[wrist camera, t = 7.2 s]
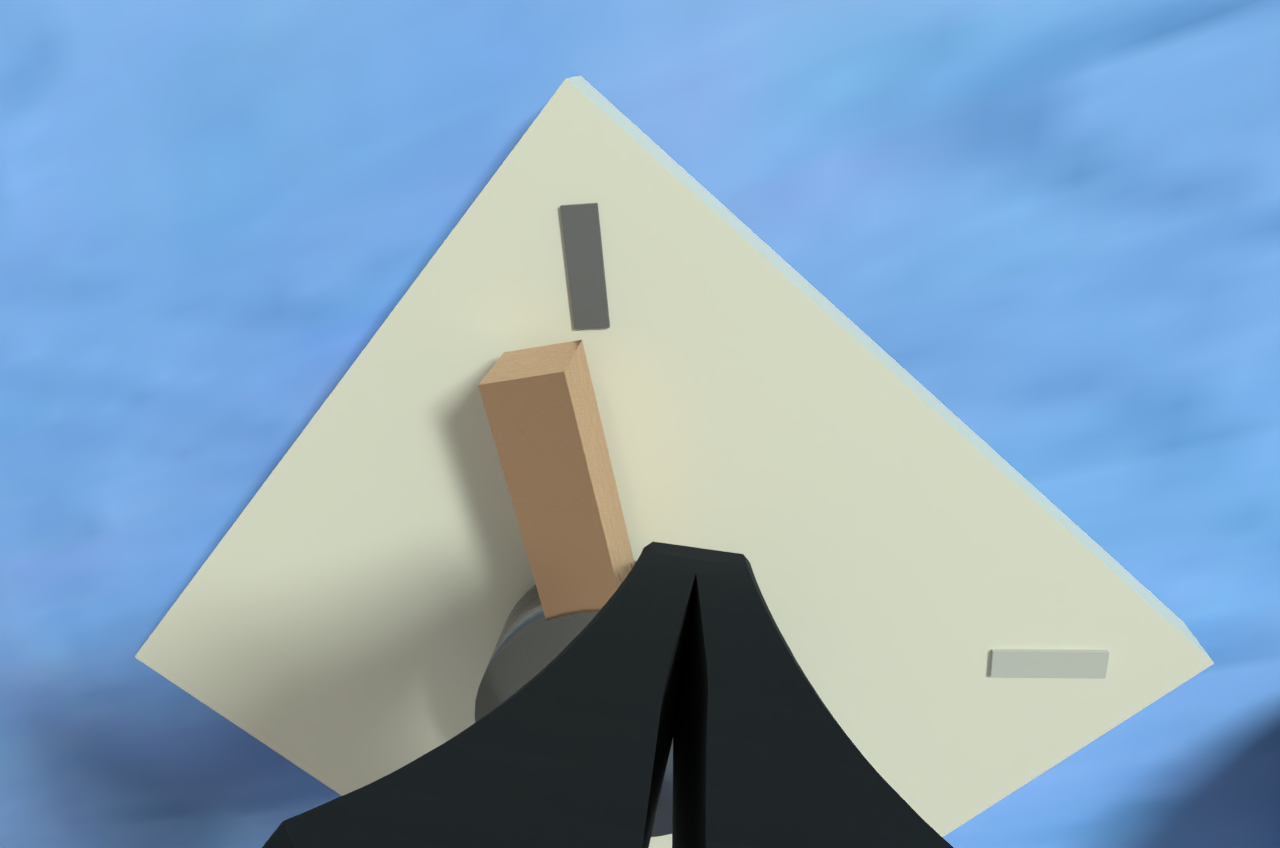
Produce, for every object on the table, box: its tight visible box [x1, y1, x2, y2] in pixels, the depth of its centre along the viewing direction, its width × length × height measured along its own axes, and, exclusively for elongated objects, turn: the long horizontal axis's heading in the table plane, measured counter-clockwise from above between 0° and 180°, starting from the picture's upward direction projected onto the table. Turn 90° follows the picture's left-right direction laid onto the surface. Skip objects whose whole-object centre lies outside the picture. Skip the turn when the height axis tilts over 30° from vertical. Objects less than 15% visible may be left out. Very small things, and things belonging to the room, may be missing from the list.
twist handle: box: [475, 340, 673, 837], centre depth 18 cm, size 11×6×2 cm, turn 11°
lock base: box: [135, 76, 1214, 848], centre depth 21 cm, size 18×18×2 cm
